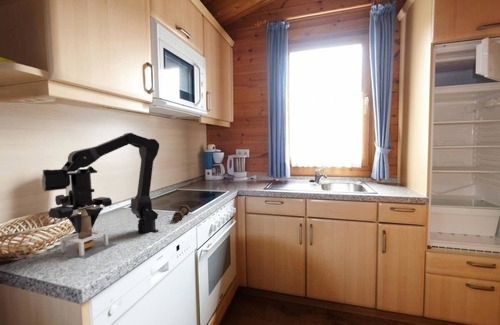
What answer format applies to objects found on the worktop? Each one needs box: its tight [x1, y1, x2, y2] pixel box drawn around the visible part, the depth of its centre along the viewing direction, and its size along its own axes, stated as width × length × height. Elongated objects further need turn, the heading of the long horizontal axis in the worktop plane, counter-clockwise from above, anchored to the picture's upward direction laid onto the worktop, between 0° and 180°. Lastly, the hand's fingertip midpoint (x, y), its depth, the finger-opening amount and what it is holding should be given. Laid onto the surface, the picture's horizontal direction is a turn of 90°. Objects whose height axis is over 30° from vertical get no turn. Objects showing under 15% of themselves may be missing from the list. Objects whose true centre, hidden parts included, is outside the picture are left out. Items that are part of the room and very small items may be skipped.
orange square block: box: [76, 239, 96, 249], centre depth 88 cm, size 4×4×2 cm
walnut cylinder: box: [77, 215, 93, 244], centre depth 87 cm, size 4×4×9 cm
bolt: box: [172, 204, 191, 223], centre depth 125 cm, size 6×5×15 cm
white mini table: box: [52, 229, 118, 260], centre depth 88 cm, size 12×16×6 cm
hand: (84, 230), depth 87 cm, fingers closed on walnut cylinder, 4 cm apart
